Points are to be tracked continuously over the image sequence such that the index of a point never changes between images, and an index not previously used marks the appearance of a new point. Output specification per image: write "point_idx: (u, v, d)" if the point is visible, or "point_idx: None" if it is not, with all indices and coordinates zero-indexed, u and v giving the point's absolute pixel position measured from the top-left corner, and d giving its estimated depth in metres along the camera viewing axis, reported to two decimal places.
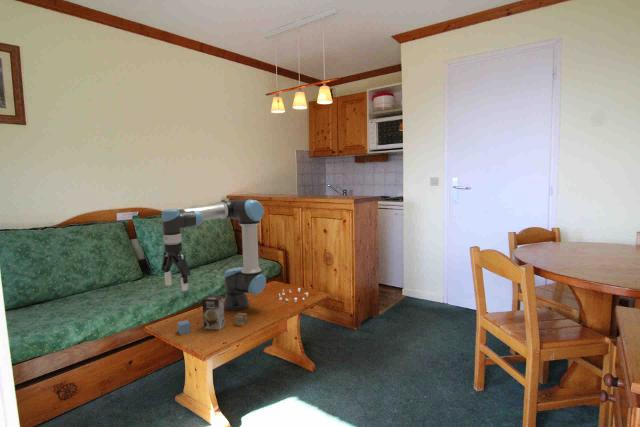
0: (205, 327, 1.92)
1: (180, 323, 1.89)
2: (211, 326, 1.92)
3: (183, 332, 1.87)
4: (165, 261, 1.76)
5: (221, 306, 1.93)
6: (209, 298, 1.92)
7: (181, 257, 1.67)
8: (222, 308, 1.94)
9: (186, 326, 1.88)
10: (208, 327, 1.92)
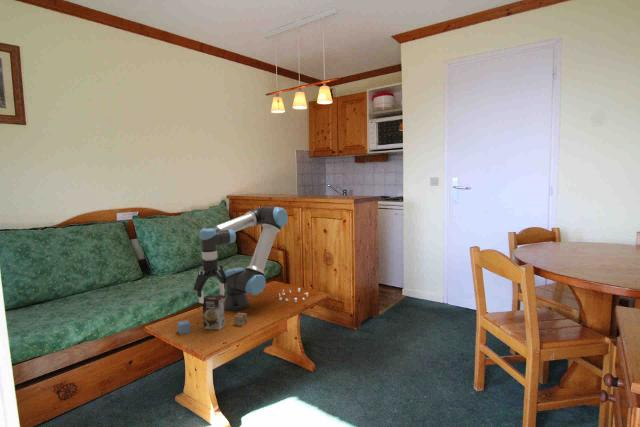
0: (205, 327, 1.92)
1: (180, 323, 1.89)
2: (211, 326, 1.92)
3: (183, 332, 1.87)
4: (220, 273, 1.97)
5: (221, 306, 1.93)
6: (209, 298, 1.92)
7: (198, 273, 1.86)
8: (222, 308, 1.94)
9: (186, 326, 1.88)
10: (208, 327, 1.92)
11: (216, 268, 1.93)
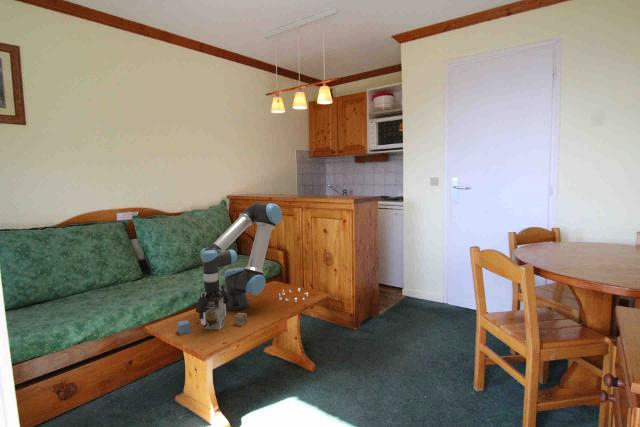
0: (205, 327, 1.92)
1: (180, 323, 1.89)
2: (211, 326, 1.92)
3: (183, 332, 1.87)
4: (222, 294, 1.99)
5: (221, 306, 1.93)
6: None
7: (200, 295, 1.87)
8: (222, 308, 1.94)
9: (186, 326, 1.88)
10: (208, 327, 1.92)
11: (218, 289, 1.94)
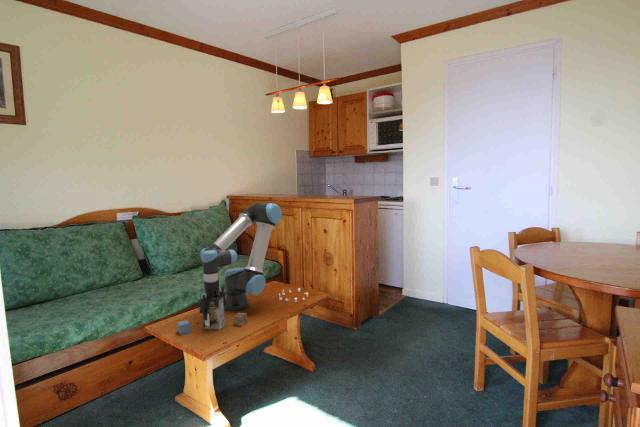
0: (205, 327, 1.92)
1: (180, 323, 1.89)
2: (212, 326, 1.92)
3: (183, 332, 1.87)
4: None
5: (221, 306, 1.93)
6: None
7: (201, 297, 1.87)
8: (222, 308, 1.94)
9: (186, 326, 1.88)
10: (208, 327, 1.92)
11: (218, 289, 1.94)
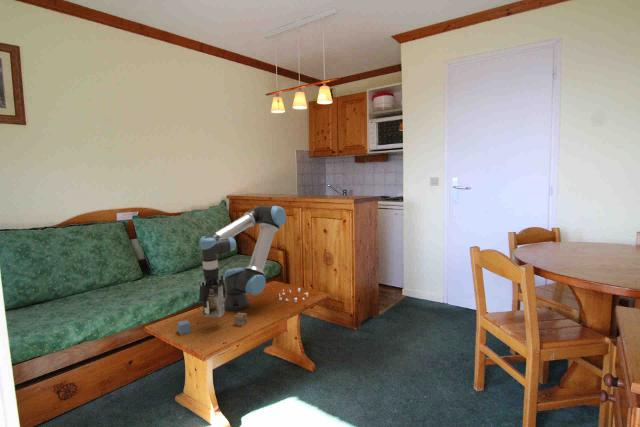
0: (205, 315, 1.92)
1: (180, 323, 1.89)
2: (211, 314, 1.91)
3: (183, 332, 1.87)
4: None
5: (221, 293, 1.92)
6: (208, 286, 1.91)
7: (200, 284, 1.87)
8: (222, 296, 1.94)
9: (186, 326, 1.88)
10: (208, 315, 1.92)
11: (217, 277, 1.94)
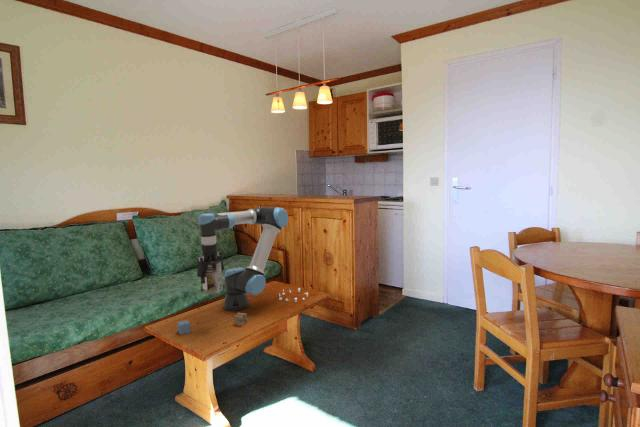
0: (203, 291, 1.90)
1: (180, 323, 1.89)
2: (209, 290, 1.89)
3: (183, 332, 1.87)
4: None
5: (219, 270, 1.91)
6: None
7: (198, 259, 1.85)
8: (220, 272, 1.92)
9: (186, 326, 1.88)
10: (206, 291, 1.90)
11: (215, 253, 1.92)
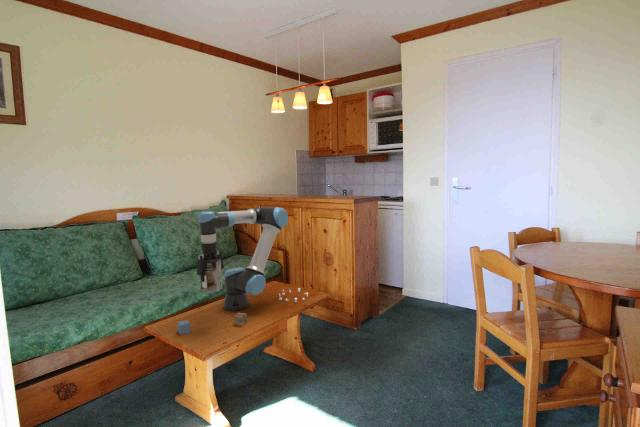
0: (202, 289, 1.90)
1: (180, 323, 1.89)
2: (209, 288, 1.89)
3: (183, 332, 1.87)
4: None
5: (219, 268, 1.91)
6: (206, 260, 1.89)
7: (198, 257, 1.85)
8: (220, 270, 1.92)
9: (186, 326, 1.88)
10: (205, 289, 1.90)
11: (215, 251, 1.92)
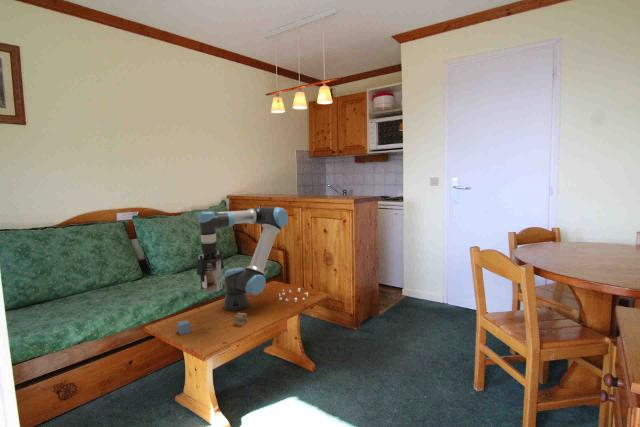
0: (202, 289, 1.90)
1: (180, 323, 1.89)
2: (209, 288, 1.89)
3: (183, 332, 1.87)
4: None
5: (219, 268, 1.91)
6: (206, 260, 1.89)
7: (198, 257, 1.85)
8: (220, 270, 1.92)
9: (186, 326, 1.88)
10: (205, 289, 1.90)
11: (215, 251, 1.92)
